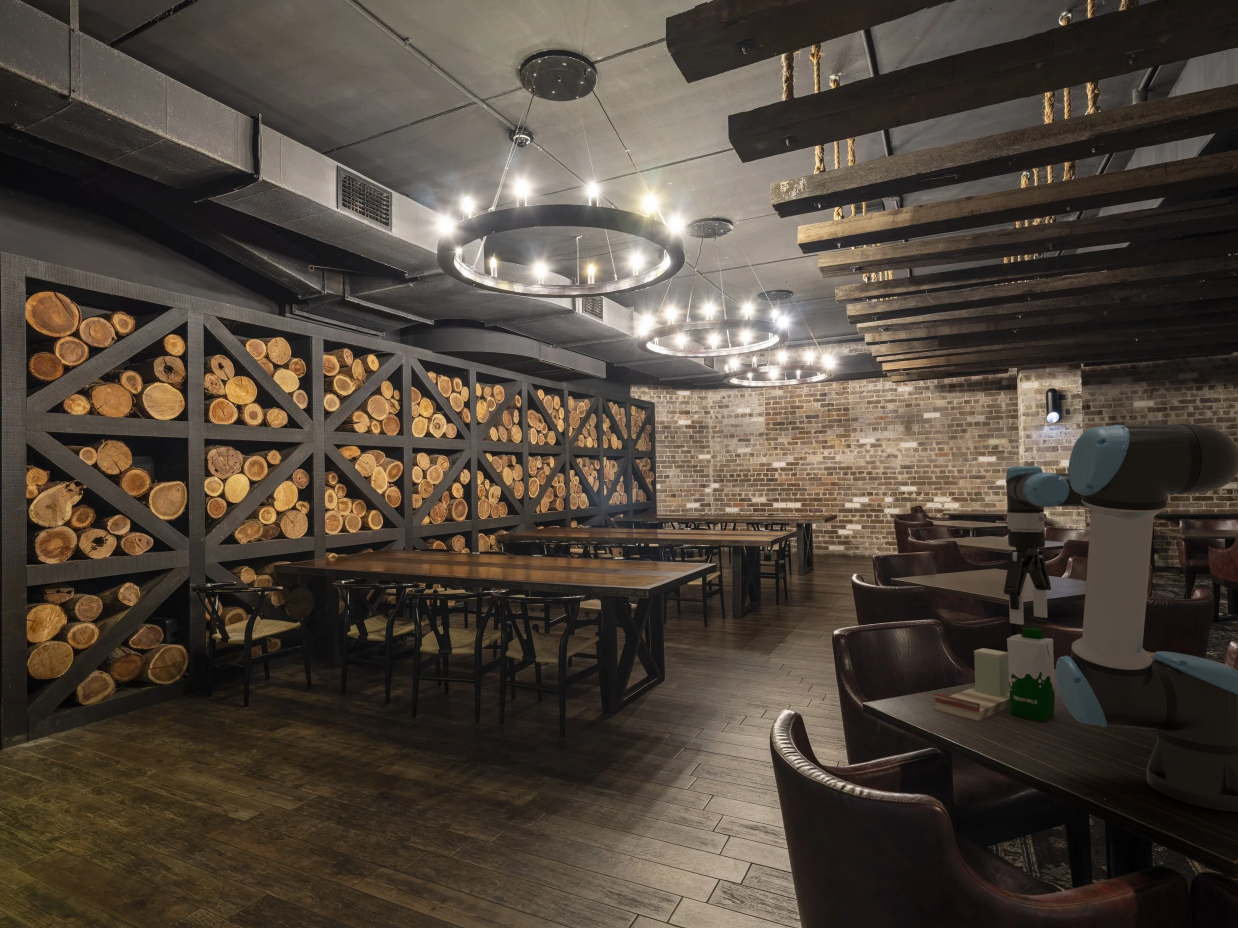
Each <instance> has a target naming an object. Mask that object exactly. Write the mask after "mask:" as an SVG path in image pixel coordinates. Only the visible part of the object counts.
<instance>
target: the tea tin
mask: <svg viewBox="0 0 1238 928" xmlns="http://www.w3.org/2000/svg"><path fill="white" fill-rule="evenodd" d="M973 654H974V657H973V658H974V683H975V685H974V687H975V691H976V692H981V693H985V694H990V695H994V696H999V697H1001V696H1004V695H1006V694H1009V693H1010V692H1009V667H1008V651H1002V650H997V649H990V648H984V647H982V648H979V649H976V650H973Z"/></svg>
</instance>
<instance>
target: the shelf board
mask: <svg viewBox="0 0 1238 928" xmlns="http://www.w3.org/2000/svg"><path fill="white" fill-rule="evenodd" d="M934 698H935V700H934V701H935V703H934V704H935V705H934V706H935V708H934V709H935V711H937V712H938V711H939V712H942V713H945V714H950V715H953V716H958V717H962V718H965V719H969V720H973V721H978V722H979V721H981V720H984V719H986V718H988V717H991V716H992V715H995V714H998V713H999V712H1002V711H1003V710H1006V709H1008V708H1010V692H1009V694H1006V695H1004V696H1001V697H999V696H994V695H990V694H985V693H981V692H976V691H975V686H973V687H971V688H968V689H965V690H963V691H960V692H957V693H954V694H952V695H949V696H948V695H944V694H940V693H935V694H934Z"/></svg>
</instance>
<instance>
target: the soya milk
mask: <svg viewBox="0 0 1238 928" xmlns="http://www.w3.org/2000/svg"><path fill="white" fill-rule="evenodd" d="M1006 644H1007V645H1006V646H1007V652H1008V673H1009V693H1010V707H1009V708H1010V715H1011V716H1014V717H1018V718H1022V719H1023V718H1024V719H1028V720H1033V721H1037V722H1041V723H1046V722H1047V721H1049V720H1050V719H1051V718H1053V717H1054V716H1055V704H1056V703H1055V702H1056V701H1055V700H1056V696H1055V695H1056V692H1055V686H1056V685H1055V662H1054V661H1055V660H1054V639H1053V638H1048V637H1044V636H1043V629H1041V628H1040V627H1032V626H1024V627H1022V634H1021V633H1019V634H1018V633H1017V634H1015V635H1011V636H1010V637H1008V638H1006Z"/></svg>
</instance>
